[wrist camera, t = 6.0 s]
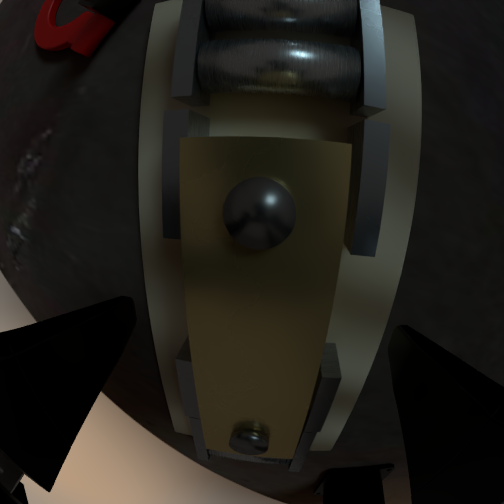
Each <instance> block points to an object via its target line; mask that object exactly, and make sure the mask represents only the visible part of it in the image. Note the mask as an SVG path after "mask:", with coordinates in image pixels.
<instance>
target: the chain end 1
mask: <svg viewBox="0 0 504 504" xmlns="http://www.w3.org/2000/svg"><path fill="white" fill-rule="evenodd" d="M241 30H277V31H296V32H308V33H318V34H326V35H333V36H340V37H346V38H350V47H349V46H344V45H337V44H330V43H323V42H314V41H304V40H290V39H262V38H252V39H224V40H215V35H216V32H222V31H241ZM210 93H273V94H290V95H303V96H313V97H322V98H330V99H337V100H344V101H350V115H356V116H361V117H367V118H369V117H371V116H373V115H375V114H377V113H379V112H381V111H383V110H386V66H385V48H384V36H383V26H382V17H381V9H380V2H379V0H183V3H182V9H181V14H180V21H179V27H178V34H177V41H176V48H175V56H174V65H173V75H172V85H171V98H173V99H176V100H178V101H180V102H182V103H185V104H187V105H189V106H191V107H199V106H210ZM390 126H391V124H387V123H382V122H377V121H372V120H367V119H364V120H362V121H360V122H358V123H356V124H354V125H352V126H350V127H348V140H347V143H348V144H352V153H351V170H350V183H349V194H348V205H347V214H346V223H345V232H344V240H343V243H344V245H345V246H346V248H347V250H348V251H349V253H350V255H358V256H368V257H375V254H376V249H377V244H378V238H379V232H380V226H381V220H382V213H383V206H384V198H385V190H386V181H387V171H388V160H389V146H390ZM209 132H210V118H208V117H206V116H203V115H201V114H199V113H197V112H194V111H192V110H190V109H181V110H168V111H164V119H163V140H162V224H163V238H168V239H180V240H181V225H180V138H184V137H209Z"/></svg>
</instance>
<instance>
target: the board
mask: <svg viewBox="0 0 504 504" xmlns="http://www.w3.org/2000/svg"><path fill="white" fill-rule="evenodd" d="M182 3H183V0H171V1H166V2H162V3H158V4H155V8H154V13H153V18H152V23H151V29H150V34H149V40H148V47H147V53H146V61H145V68H144V77H143V86H142V97H141V110H140V127H139V161H138V180H139V215H140V233H141V247H142V258H143V268H144V278H145V286H146V294H147V302H148V309H149V315H150V322H151V328H152V334H153V340H154V345H155V350H156V355H157V360H158V365H159V370H160V375H161V379H162V383H163V388H164V392H165V396H166V400H167V404H168V408H169V412H170V415H171V419H172V423H173V426H174V430H175V432H179V433H183V434H187V435H191V436H193V434H192V429H191V425H190V420H189V416H185V412H184V407H183V402H182V397H181V391H180V386H179V380H178V374H177V368H176V362H175V358H176V356H177V354H178V353H179V351H180V349H181V347H182V345H183V343H184V342H185V340H186V338H187V336H188V325H187V315H186V304H185V293H184V280H183V265H182V248H181V240H180V239H168V238H163V224H162V140H163V119H164V111H168V110H181V109H190V110H192V111H194V112H197V113H199V114H201V115H203V116H206V117H208V118H210V132H209V137H210V136H254V137H281V138H297V139H310V140H321V141H331V142H340V143H347V140H348V127H350V126H352V125H354V124H356V123H358V122H360V121H362V120H364V119H367V120H372V121H377V122H382V123H387V124H391V126H390V146H389V160H388V171H387V181H386V190H385V198H384V206H383V213H382V220H381V226H380V232H379V238H378V244H377V249H376V254H375V257H368V256H358V255H350V253H349V251H348V250H347V248H346V246H345V245H344V243H343V247H342V254H341V261H340V268H339V274H338V280H337V286H336V292H335V297H334V303H333V308H332V313H331V318H330V323H329V328H328V333H327V338H326V342H325V343H336V348H337V354H338V359H339V365H340V370H341V376H342V379H341V382H340V384H339V387H338V390H337V392H336V395H335V398H334V400H333V403H332V405H331V408H330V410H329V413H328V415H327V418H326V420H325V423H324V425H323V427H322V430H321V432H317V434H316V436H315V438H314V441H313V443H312V445H311V447H310V450H319V451H325V450H331V449H332V447H333V446H334V444H335V442H336V440H337V438H338V437H339V435H340V433H341V431H342V429H343V427H344V425H345V423H346V421H347V419H348V417H349V415H350V413H351V411H352V409H353V407H354V405H355V403H356V400H357V398H358V396H359V394H360V392H361V389H362V387H363V385H364V382H365V380H366V378H367V375H368V373H369V370H370V368H371V365H372V363H373V360H374V358H375V355H376V352H377V350H378V347H379V344H380V341H381V339H382V336H383V333H384V330H385V327H386V324H387V321H388V318H389V314H390V311H391V308H392V305H393V301H394V298H395V294H396V291H397V287H398V283H399V279H400V275H401V271H402V267H403V263H404V258H405V254H406V249H407V245H408V240H409V234H410V229H411V223H412V218H413V211H414V205H415V198H416V190H417V182H418V172H419V161H420V146H421V119H422V101H421V75H420V61H419V51H418V42H417V34H416V27H415V21H414V15H411V14H408V13H405V12H402V11H399V10H395V9H392V8H388V7H385V6H381V5H380V9H381V17H382V26H383V36H384V48H385V66H386V110H383V111H381V112H379V113H377V114H375V115H373V116H371V117H369V118H367V117H361V116H356V115H350V101H344V100H337V99H330V98H322V97H313V96H303V95H290V94H273V93H210V106H199V107H191V106H189V105H187V104H185V103H182V102H180V101H178V100H176V99H173V98H171V85H172V75H173V65H174V56H175V48H176V41H177V34H178V27H179V21H180V14H181V9H182ZM252 38H262V39H290V40H304V41H314V42H323V43H330V44H337V45H344V46H349V47H350V38H346V37H340V36H333V35H326V34H318V33H308V32H296V31H277V30H241V31H222V32H216V35H215V40H224V39H252Z"/></svg>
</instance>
